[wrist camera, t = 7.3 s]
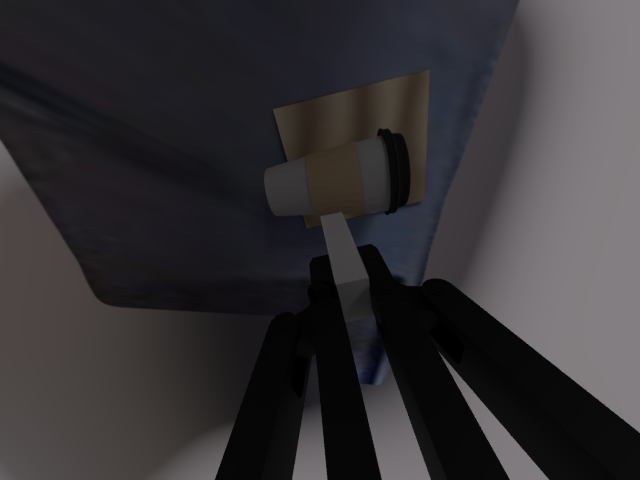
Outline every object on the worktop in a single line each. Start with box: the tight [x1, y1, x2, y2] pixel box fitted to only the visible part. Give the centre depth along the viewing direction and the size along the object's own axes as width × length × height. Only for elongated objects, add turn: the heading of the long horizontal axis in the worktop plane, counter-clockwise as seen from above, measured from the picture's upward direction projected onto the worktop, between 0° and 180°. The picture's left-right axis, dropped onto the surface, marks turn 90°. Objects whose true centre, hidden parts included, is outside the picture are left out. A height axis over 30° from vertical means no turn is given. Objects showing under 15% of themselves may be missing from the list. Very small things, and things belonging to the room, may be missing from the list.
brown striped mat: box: [273, 70, 430, 229], centre depth 30 cm, size 18×16×1 cm
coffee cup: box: [264, 128, 411, 216], centre depth 27 cm, size 9×9×15 cm
